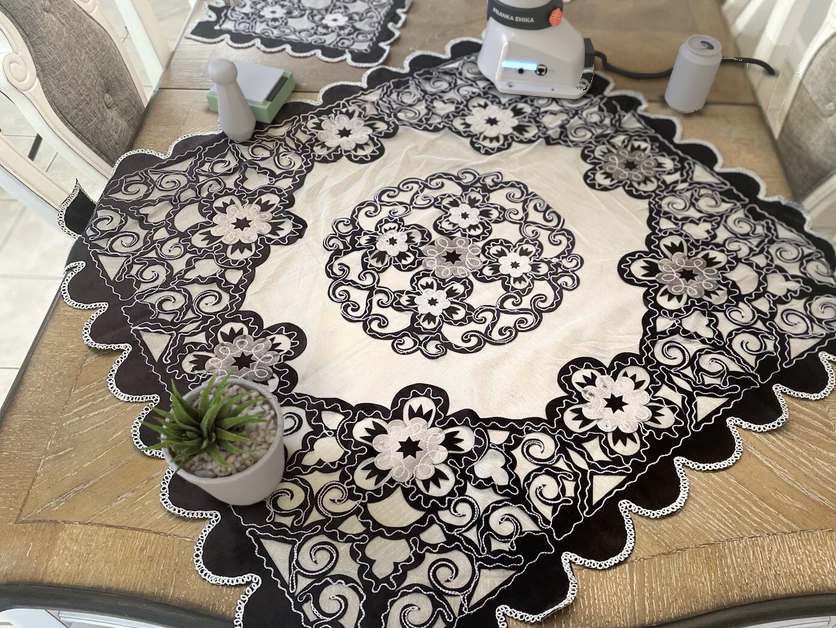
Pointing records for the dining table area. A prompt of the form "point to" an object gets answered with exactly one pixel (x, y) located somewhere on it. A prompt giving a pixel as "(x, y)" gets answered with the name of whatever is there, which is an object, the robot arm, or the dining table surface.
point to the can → (693, 73)
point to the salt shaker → (231, 101)
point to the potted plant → (225, 439)
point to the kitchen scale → (260, 89)
